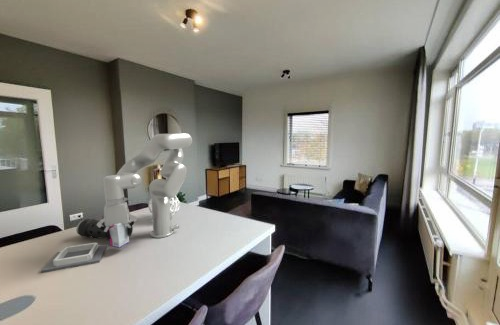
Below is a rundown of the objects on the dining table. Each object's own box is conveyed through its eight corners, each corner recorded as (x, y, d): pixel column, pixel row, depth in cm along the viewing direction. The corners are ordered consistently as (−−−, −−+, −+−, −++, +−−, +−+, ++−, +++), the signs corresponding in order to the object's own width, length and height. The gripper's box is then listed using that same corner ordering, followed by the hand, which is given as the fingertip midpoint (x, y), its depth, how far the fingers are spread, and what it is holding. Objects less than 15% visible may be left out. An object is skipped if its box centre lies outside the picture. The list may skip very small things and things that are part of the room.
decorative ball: (178, 212, 163) (177, 186, 161) (182, 221, 144) (181, 192, 142) (149, 216, 154) (147, 189, 153) (148, 226, 136) (147, 196, 134)
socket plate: (107, 246, 111) (106, 239, 110) (99, 262, 96) (98, 254, 96) (57, 254, 103) (57, 247, 103) (40, 273, 89) (39, 265, 88)
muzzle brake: (120, 245, 112) (119, 225, 111) (75, 240, 118) (73, 222, 116) (133, 237, 121) (132, 219, 120) (91, 233, 127) (90, 216, 126)
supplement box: (130, 242, 108) (127, 220, 106) (119, 248, 102) (116, 225, 101) (121, 240, 110) (118, 219, 108) (110, 246, 104) (107, 223, 103)
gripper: (136, 196, 110) (140, 230, 112) (95, 202, 103) (99, 237, 106) (135, 201, 103) (138, 236, 105) (90, 206, 96) (95, 244, 99)
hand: (119, 236), depth 105 cm, fingers closed on supplement box, 7 cm apart
